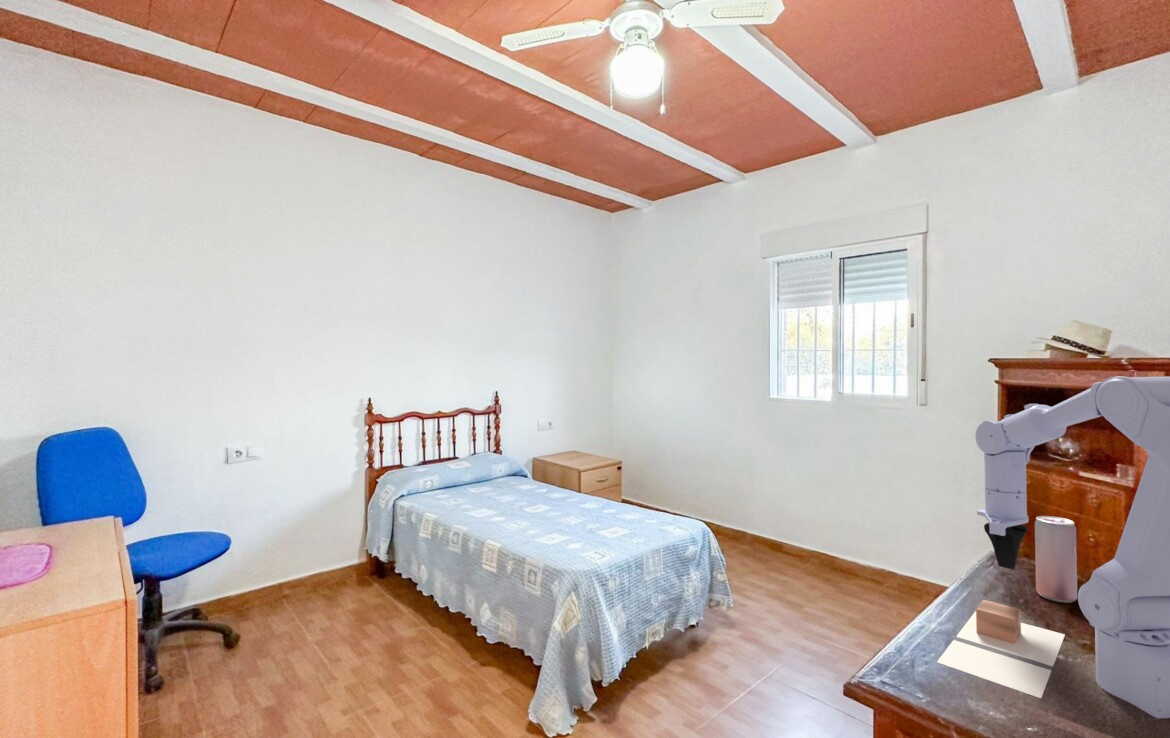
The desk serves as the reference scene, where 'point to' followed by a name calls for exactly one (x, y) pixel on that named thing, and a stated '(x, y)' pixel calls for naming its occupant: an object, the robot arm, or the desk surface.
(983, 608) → the block
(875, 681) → the desk surface
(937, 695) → the desk surface
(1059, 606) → the desk surface
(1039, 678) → the board
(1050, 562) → the beverage can
